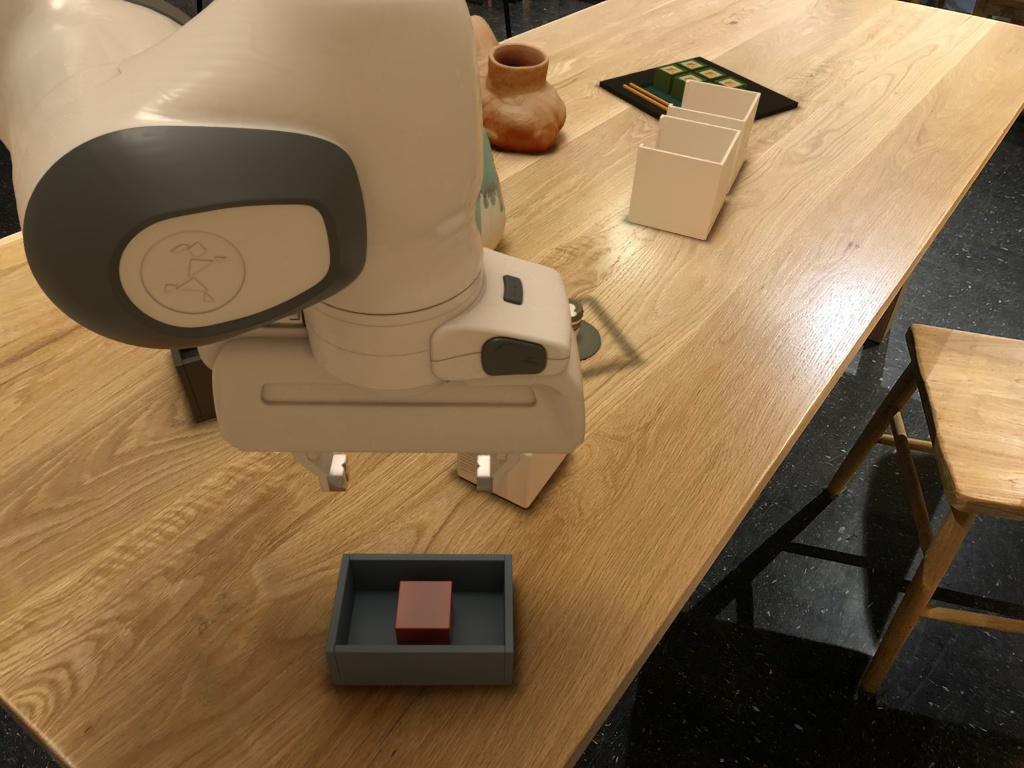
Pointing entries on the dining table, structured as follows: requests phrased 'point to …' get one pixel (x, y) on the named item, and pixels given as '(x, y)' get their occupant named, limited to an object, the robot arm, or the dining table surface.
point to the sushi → (668, 86)
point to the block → (424, 613)
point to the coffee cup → (583, 331)
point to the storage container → (693, 159)
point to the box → (380, 661)
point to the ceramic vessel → (516, 94)
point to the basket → (195, 382)
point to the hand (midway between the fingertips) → (412, 484)
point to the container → (516, 475)
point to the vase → (490, 202)
